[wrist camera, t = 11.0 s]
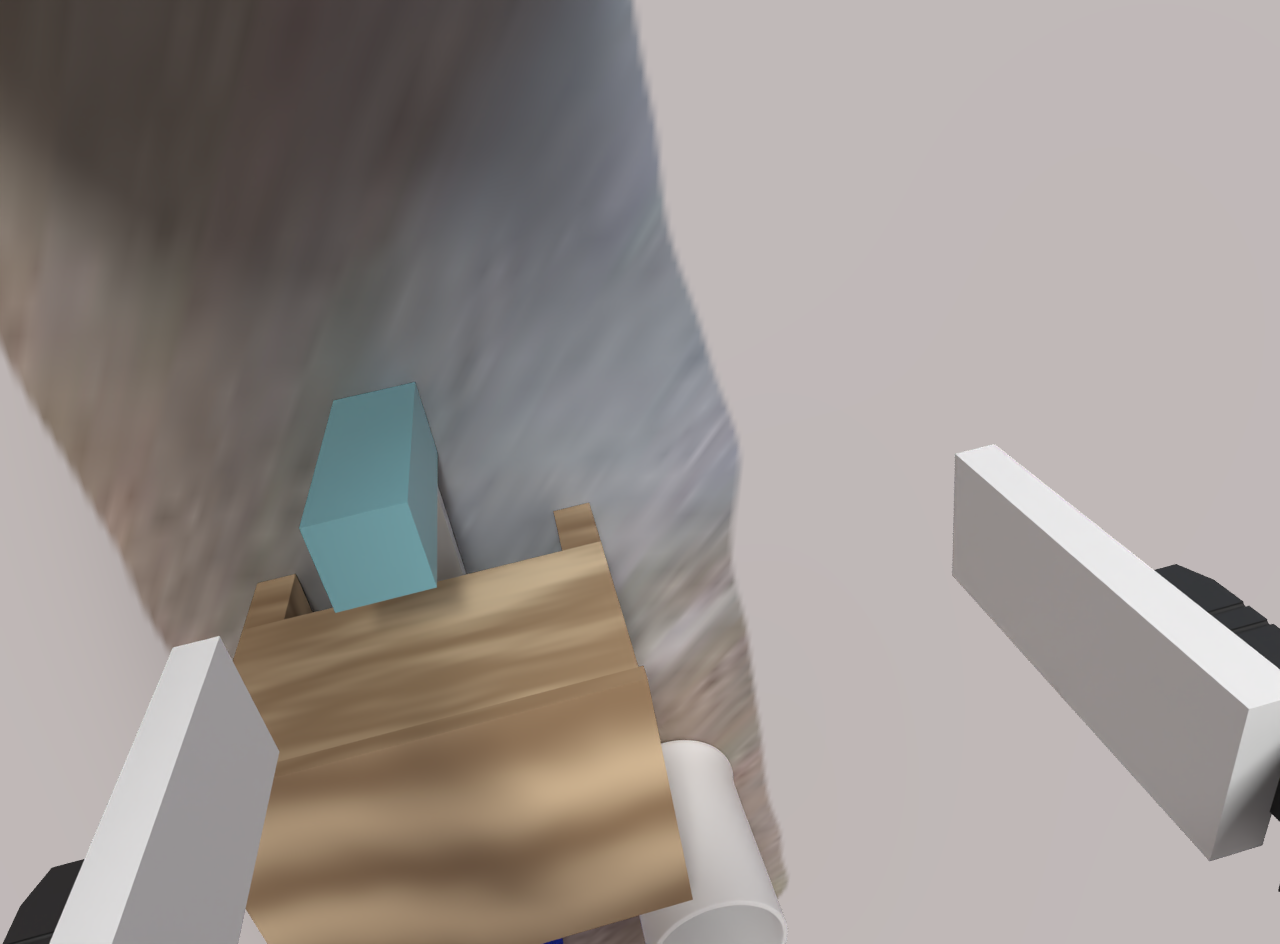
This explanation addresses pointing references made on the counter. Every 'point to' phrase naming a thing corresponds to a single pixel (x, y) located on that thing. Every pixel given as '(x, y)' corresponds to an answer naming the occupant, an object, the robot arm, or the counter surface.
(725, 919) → the mug
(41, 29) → the counter surface
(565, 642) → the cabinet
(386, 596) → the teal cube mallet
